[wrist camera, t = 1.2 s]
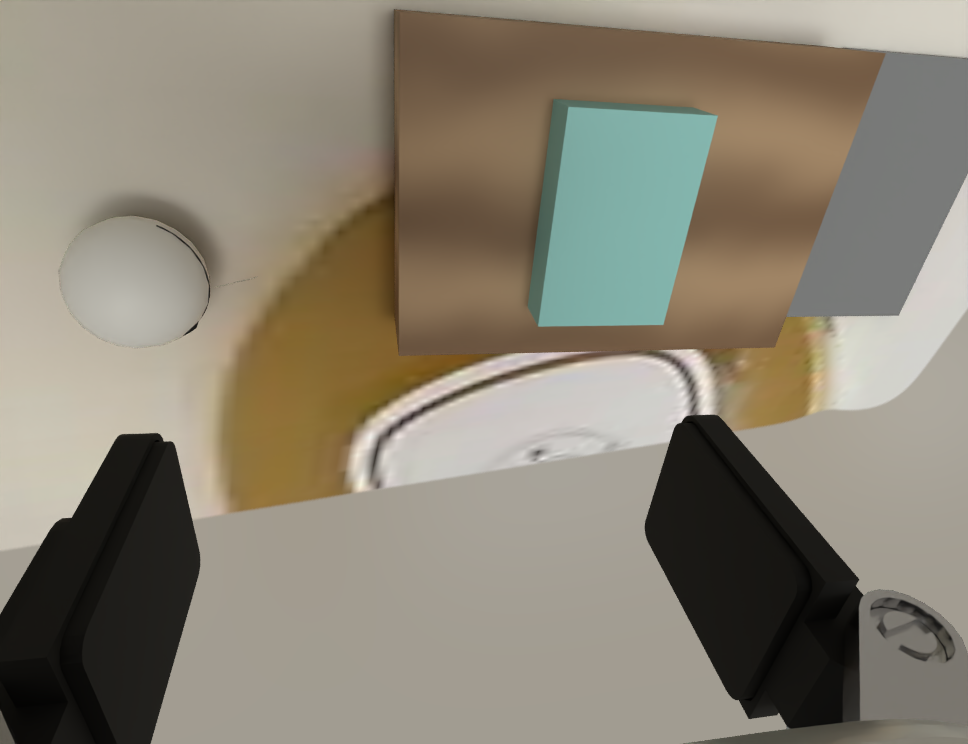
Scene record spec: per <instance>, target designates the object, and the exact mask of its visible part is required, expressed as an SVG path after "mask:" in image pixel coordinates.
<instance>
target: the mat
mask: <svg viewBox="0 0 968 744" xmlns="http://www.w3.org/2000/svg"><path fill="white" fill-rule="evenodd" d="M844 49H849V48H844ZM853 50H861V49H853ZM862 51H871V52H880V53H886V54H885V57H884V60H883V62H882V65H881V68H880V70H879V73H878V75H877V78H876V81H875V83H874V86H873V89H872V91H871V94H870V97H869V99H868V102H867V105H866V107H865V110H864V112H863V115H862V118H861V120H860V123H859V126H858V128H857V131H856V134H855V136H854V139H853V142H852V144H851V147H850V149H849V152H848V155H847V157H846V160H845V163H844V165H843V168H842V171H841V173H840V176H839V179H838V181H837V184H836V186H835V189H834V192H833V194H832V197H831V200H830V202H829V205H828V208H827V210H826V213H825V216H824V218H823V221H822V223H821V226H820V229H819V231H818V234H817V237H816V239H815V242H814V245H813V247H812V250H811V253H810V255H809V258H808V260H807V263H806V266H805V268H804V271H803V274H802V276H801V279H800V282H799V284H798V287H797V290H796V292H795V295H794V297H793V300H792V303H791V305H790V308H789V311H788V313H787V316H786V317H807V316H896V315H899V314H900V311H901V309H902V307H903V305H904V303H905V301H906V299H907V297H908V295H909V293H910V291H911V289H912V287H913V285H914V283H915V281H916V279H917V277H918V275H919V272H920V270H921V268H922V266H923V264H924V262H925V260H926V258H927V256H928V254H929V252H930V250H931V248H932V246H933V244H934V242H935V240H936V238H937V236H938V233H939V231H940V229H941V227H942V225H943V223H944V221H945V219H946V217H947V215H948V213H949V211H950V209H951V207H952V205H953V203H954V201H955V199H956V197H957V194H958V192H959V190H960V188H961V186H962V184H963V182H964V180H965V178H966V176H967V174H968V59H966V58H954V57H942V56H931V55H919V54H908V53H896V52H884V51H873V50H862Z"/></svg>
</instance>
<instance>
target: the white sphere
mask: <svg viewBox="0 0 968 744" xmlns="http://www.w3.org/2000/svg"><path fill="white" fill-rule="evenodd" d="M255 278H256V277H255ZM251 279H253V278H251ZM247 280H250V279H247ZM242 281H245V280H242ZM59 282H60V290H61V293H62V296H63V299H64V301H65V303H66V305H67V307H68V309H69V311H70V314H71V315H72V316H73V317H74V318H75V319H76V320H77V321H78V323H79V324H80V325H81V326H82V327H83V328H84V329H86V330H87V331H89V332H90V333H92V334H93V335H95V336H96V337H98V338H99V339H101V340H104V341H107V342H109V343H112V344H115V345H117V346H123V347H131V348H143V347H152V346H160V345H165V344H167V343H170V342H172V341H174V340H177V339H179V338H181V337H182V336H184V335H186V334H188V333H190V332H191V331H193V330H194V329H196V327H197V325H198V322H199V320H200V319H201V317H202V316H203V314H204V313H205V311H206V309H207V306H208V303H209V298H210V285H209V282H210V277H209V274H208V270H207V267H206V264H205V261H204V259H203V258H202V256H201V255H200V253H199V252H198V250H197V249H196V247H195V246H194V245H193V243H192V242H190V241H189V240H188V239H187V238H186V237H184V236H183V235H182V234H181V233H180V232H178V231H177V230H176V229H174V228H172V227H170V226H167V225H165V224H163V223H161V222H159V221H157V220H154V219H149V218H143V217H138V216H123V217H112V218H109V219H107V220H104V221H102V222H99V223H97V224H95V225H92V226H90V227H88V228H86V229H83V230H82V231H81V232H80V234H79V235H78V236H77V237H76V238H75V239H74V240H73V241H72V242H71V243H70V244H69V246H68V248H67V250H66V252H65V254H64V256H63V259H62V262H61V265H60V268H59ZM237 282H240V281H237ZM234 283H236V282H234ZM230 284H232V283H230ZM226 285H228V284H226ZM222 286H225V285H222ZM216 287H220V286H216Z"/></svg>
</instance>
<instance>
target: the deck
mask: <svg viewBox="0 0 968 744" xmlns="http://www.w3.org/2000/svg"><path fill="white" fill-rule="evenodd" d="M885 54H886V53H880V52H871V51H862V50H853V49H844V48H835V47H825V46H814V45H803V44H791V43H780V42H768V41H756V40H745V39H733V38H721V37H710V36H698V35H686V34H675V33H663V32H651V31H640V30H628V29H617V28H605V27H593V26H582V25H570V24H558V23H547V22H535V21H523V20H512V19H500V18H489V17H477V16H465V15H454V14H442V13H430V12H419V11H407V10H395V9H394V174H395V324H396V333H397V342H398V351H399V356H406V355H451V354H497V353H542V352H588V351H633V350H679V349H724V348H770V347H775V345H776V342H777V340H778V337H779V334H780V332H781V329H782V327H783V324H784V321H785V319H786V316H787V313H788V311H789V308H790V305H791V303H792V300H793V297H794V295H795V292H796V290H797V287H798V284H799V282H800V279H801V276H802V274H803V271H804V268H805V266H806V263H807V260H808V258H809V255H810V253H811V250H812V247H813V245H814V242H815V239H816V237H817V234H818V231H819V229H820V226H821V223H822V221H823V218H824V216H825V213H826V210H827V208H828V205H829V202H830V200H831V197H832V194H833V192H834V189H835V186H836V184H837V181H838V179H839V176H840V173H841V171H842V168H843V165H844V163H845V160H846V157H847V155H848V152H849V149H850V147H851V144H852V142H853V139H854V136H855V134H856V131H857V128H858V126H859V123H860V120H861V118H862V115H863V112H864V110H865V107H866V105H867V102H868V99H869V97H870V94H871V91H872V89H873V86H874V83H875V81H876V78H877V75H878V73H879V70H880V68H881V65H882V62H883V60H884V57H885ZM554 99H562V100H578V101H595V102H611V103H627V104H644V105H660V106H676V107H693V108H696V109H699V110H702V111H705V112H708V113H711V114H714V115H717V116H718V118H717V121H716V125H715V129H714V133H713V137H712V141H711V144H710V148H709V152H708V156H707V160H706V164H705V167H704V171H703V175H702V179H701V183H700V187H699V190H698V194H697V198H696V202H695V206H694V210H693V213H692V217H691V221H690V225H689V229H688V232H687V236H686V240H685V244H684V248H683V252H682V255H681V259H680V263H679V267H678V271H677V275H676V278H675V282H674V286H673V290H672V294H671V298H670V301H669V305H668V309H667V313H666V317H665V321H664V324H663V325H619V326H545V327H538V325H537V324H536V322H535V320H534V318H533V316H532V314H531V312H530V311H529V309H528V299H529V291H530V283H531V275H532V267H533V259H534V251H535V243H536V235H537V228H538V220H539V212H540V204H541V196H542V188H543V180H544V172H545V164H546V156H547V148H548V140H549V132H550V124H551V116H552V108H553V100H554Z"/></svg>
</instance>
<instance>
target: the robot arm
mask: <svg viewBox="0 0 968 744" xmlns="http://www.w3.org/2000/svg"><path fill="white" fill-rule="evenodd" d="M645 534H646V538H647V540H648V543H649V545H650V546H651V548H652V550H653V552H654V554H655V556H656V558H657V560H658V562H659V564H660V565H661V567H662V569H663V571H664V573H665V575H666V577H667V579H668V581H669V583H670V584H671V586H672V588H673V590H674V592H675V594H676V596H677V598H678V599H679V602H680V603H681V605H682V607H683V609H684V611H685V613H686V615H687V617H688V619H689V620H690V622H691V624H692V626H693V628H694V630H695V632H696V634H697V636H698V637H699V639H700V641H701V643H702V645H703V647H704V649H705V651H706V653H707V655H708V657H709V658H710V660H711V662H712V664H713V666H714V668H715V670H716V672H717V674H718V676H719V677H720V679H721V681H722V683H723V685H724V687H725V689H726V690H727V692H728V694H729V695H730V696H731V697H732V698H733V699H735V700H739V701H740V703H741V705H742V707H743V709H744V710H745V713H746V714H747V716H748V718H749V719H752V718H759V717H766V716H773V715H777V714H778V713H780V715H781V717H782V719H783V720H784V722H785V724H786V725H787V728H786V730H778V731H769V732H762V733H755V734H748V735H741V736H735V737H727V738H720V739H713V740H705V741H699V742H692V743H684V744H968V653H967V650H966V647H965V645H964V642H963V640H962V638H961V637H960V635H959V634H958V633H957V631H956V630H955V628H954V627H953V626H952V625H951V624H950V623H949V622H948V621H947V620H946V619H945V618H944V617H943V616H941V615H940V614H939V613H938V612H936V611H935V610H934V609H932V608H931V607H929V606H928V605H926V604H925V603H923V602H921V601H919V600H917V599H915V598H913V597H911V596H909V595H906V594H903V593H899V592H896V591H892V590H880V589H879V590H874V591H870V592H868V593H866V594H865V595H863V594H862V593H861V592H860V591H859V590H858V588H857V587H856V584H857V582H858V581H859V579H858V577H857V576H856V575H855V574H854V573H853V572H852V571H851V569H850V568H849V567H848V566H847V565H846V563H845V562H844V561H843V560H842V559H841V558H840V556H839V555H838V554H837V553H836V552H835V551H834V550H833V548H832V547H831V546H830V545H829V544H828V543H827V541H826V540H825V539H824V538H823V537H822V535H821V534H820V533H819V532H818V531H817V530H816V529H815V527H814V526H813V525H812V524H811V523H810V521H809V520H808V519H807V518H806V517H805V516H804V514H803V513H802V512H801V511H800V510H799V509H798V507H797V506H796V505H795V504H794V503H793V502H792V501H791V499H790V498H789V497H788V496H787V495H786V494H785V492H784V491H783V490H782V489H781V488H780V486H779V485H778V484H777V483H776V482H775V481H774V479H773V478H772V477H771V476H770V475H769V474H768V472H767V471H766V470H765V469H764V468H763V467H762V465H761V464H760V463H759V462H758V461H757V460H756V458H755V457H754V456H753V455H752V454H751V453H750V451H749V450H748V449H747V448H746V447H745V446H744V444H743V443H742V442H741V441H740V440H739V439H738V437H737V436H736V435H735V434H734V433H733V432H732V430H731V429H730V428H729V427H728V426H727V425H726V423H725V422H724V421H723V420H722V419H721V418H720V417H719V416H717V415H691V416H686V417H685V418H684V419H683V421H682V423H679V424H677V425H676V426H675V428H674V431H673V434H672V437H671V440H670V444H669V447H668V450H667V453H666V457H665V460H664V463H663V466H662V469H661V473H660V476H659V479H658V482H657V486H656V489H655V492H654V495H653V499H652V502H651V505H650V508H649V512H648V515H647V518H646V521H645ZM199 569H200V552H199V548H198V543H197V539H196V534H195V530H194V526H193V521H192V517H191V513H190V508H189V504H188V500H187V495H186V491H185V487H184V482H183V478H182V474H181V469H180V465H179V460H178V456H177V452H176V448H175V445H174V443H173V442H171V441H170V442H164V441H163V438H162V437H161V435H160V434H158V433H149V434H122V435H119V436H118V437H117V439H116V440H115V442H114V443H113V445H112V447H111V449H110V451H109V452H108V454H107V456H106V458H105V460H104V461H103V463H102V465H101V467H100V468H99V470H98V472H97V474H96V476H95V477H94V479H93V481H92V483H91V484H90V486H89V488H88V490H87V492H86V493H85V495H84V497H83V499H82V500H81V502H80V504H79V506H78V508H77V509H76V511H75V513H74V515H73V517H72V518H62V519H61V520H59V521H57V522H56V523H55V524H54V526H53V527H52V528H51V529H50V531H49V532H48V534H47V536H46V538H45V539H44V541H43V543H42V544H41V546H40V548H39V550H38V551H37V553H36V555H35V556H34V558H33V560H32V561H31V563H30V565H29V567H28V568H27V570H26V572H25V573H24V575H23V577H22V578H21V580H20V582H19V583H18V585H17V587H16V589H15V590H14V592H13V594H12V595H11V597H10V599H9V601H8V602H7V604H6V606H5V607H4V609H3V611H2V612H1V614H0V744H150V743H151V740H152V737H153V733H154V730H155V726H156V723H157V719H158V716H159V712H160V709H161V704H162V702H163V698H164V694H165V691H166V688H167V684H168V680H169V677H170V673H171V670H172V666H173V663H174V659H175V656H176V652H177V649H178V645H179V642H180V638H181V635H182V631H183V628H184V624H185V620H186V617H187V614H188V610H189V606H190V603H191V600H192V596H193V592H194V589H195V586H196V582H197V578H198V575H199Z"/></svg>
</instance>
